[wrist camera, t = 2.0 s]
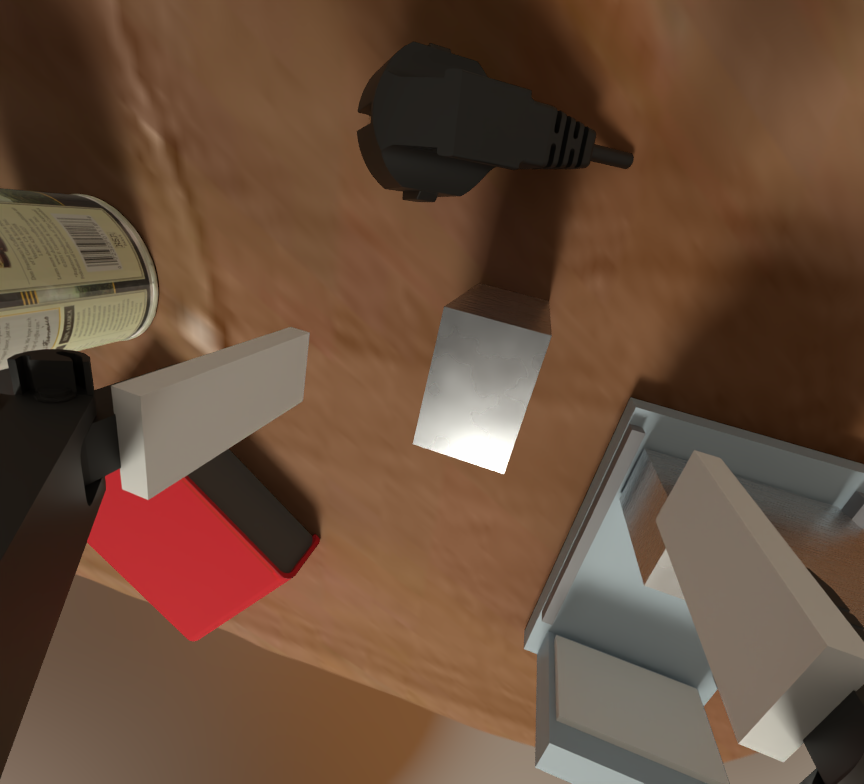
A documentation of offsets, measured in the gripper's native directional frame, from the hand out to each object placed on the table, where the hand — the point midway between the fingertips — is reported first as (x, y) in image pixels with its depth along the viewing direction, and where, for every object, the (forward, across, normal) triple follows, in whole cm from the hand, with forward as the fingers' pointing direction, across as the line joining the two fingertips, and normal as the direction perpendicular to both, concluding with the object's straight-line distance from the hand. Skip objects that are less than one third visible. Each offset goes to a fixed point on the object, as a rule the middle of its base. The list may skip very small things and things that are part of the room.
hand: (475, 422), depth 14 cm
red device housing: (+12, -21, -20) cm, 32 cm away
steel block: (+11, -1, 0) cm, 11 cm away
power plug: (+14, +1, +10) cm, 17 cm away
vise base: (+12, +13, -12) cm, 21 cm away
